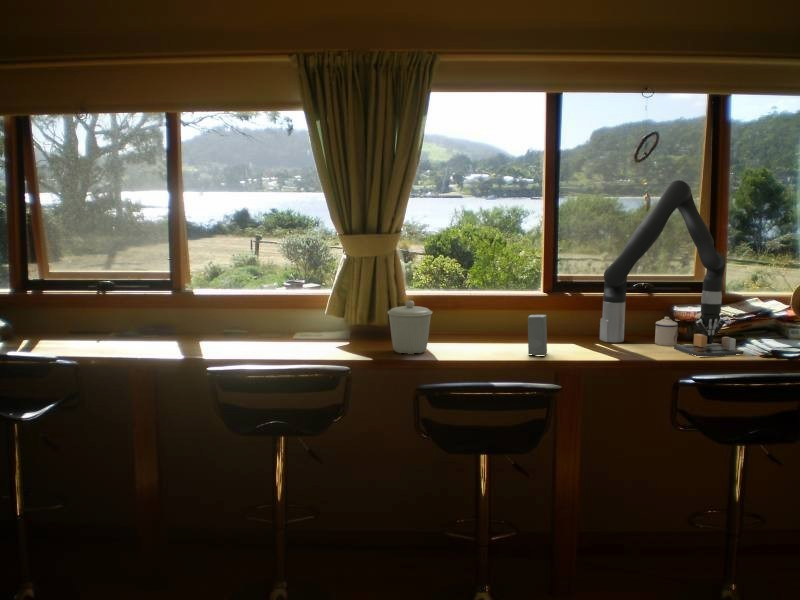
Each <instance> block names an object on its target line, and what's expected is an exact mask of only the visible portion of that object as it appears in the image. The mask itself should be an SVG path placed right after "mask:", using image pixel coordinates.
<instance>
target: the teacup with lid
mask: <svg viewBox="0 0 800 600" xmlns="http://www.w3.org/2000/svg"><path fill="white" fill-rule="evenodd" d="M678 327H679V323H678V322H676V321H673V320H672V319H671V318H670V317H669V316H664V318H663V319H662V318H661V320H658V321H656V322H655V332H654V333H655V334H654V335H655V336H654V343H655V345H658V346H663V347H664V346H665V347H674V345H677V341H678V340H677V339H678Z"/></svg>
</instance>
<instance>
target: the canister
mask: <svg viewBox="0 0 800 600" xmlns="http://www.w3.org/2000/svg"><path fill="white" fill-rule="evenodd" d="M386 313H387V315H388V316H389V318H388V319H389V325H390V334H391V335H390V336H391V344H392V348H393V350H394V352H396V353H397V354H401V353H408V354H407V355H415V354H414V353H419V354H422V353H424V352H426V350H427V348H428V347H427V346H428V342H429V335H430V334H429V333H430V326H431V317H432V314H433V310H431V309H429V308H428V307H424V306H419V305H418V306H417V305H415V302H414V301H413V300H407V301H405V305H403V306H395V307H392V308H390V309H389V310H387V311H386Z"/></svg>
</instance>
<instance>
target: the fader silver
mask: <svg viewBox="0 0 800 600" xmlns="http://www.w3.org/2000/svg"><path fill="white" fill-rule="evenodd" d="M736 340H737V339H736V338H733V337H732V336H731V337H729V336H723V337H721V348H723V349H727V350H735V349H736V345H737V344H736Z"/></svg>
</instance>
